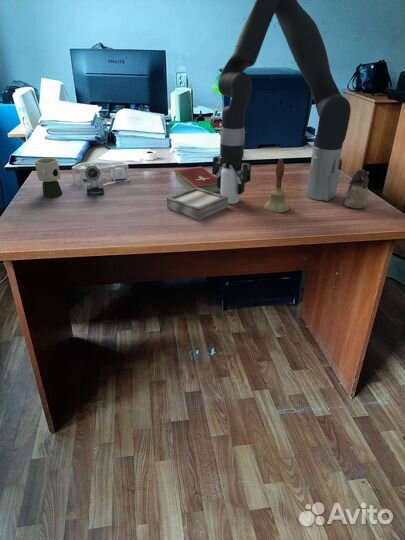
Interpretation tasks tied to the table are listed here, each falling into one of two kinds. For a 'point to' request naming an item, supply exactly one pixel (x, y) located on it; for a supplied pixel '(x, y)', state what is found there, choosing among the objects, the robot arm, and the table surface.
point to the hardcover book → (197, 179)
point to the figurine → (357, 190)
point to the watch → (93, 180)
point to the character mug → (49, 176)
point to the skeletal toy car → (114, 167)
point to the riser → (197, 202)
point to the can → (229, 185)
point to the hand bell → (278, 193)
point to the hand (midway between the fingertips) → (230, 190)
